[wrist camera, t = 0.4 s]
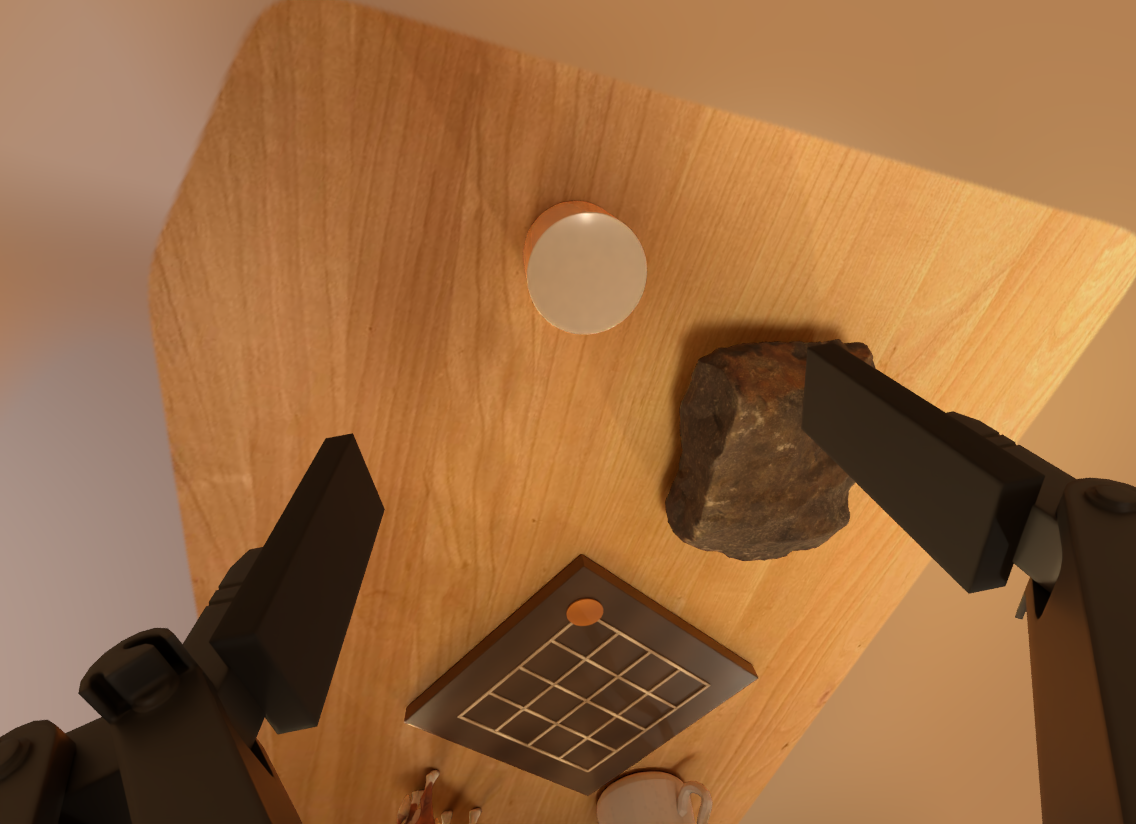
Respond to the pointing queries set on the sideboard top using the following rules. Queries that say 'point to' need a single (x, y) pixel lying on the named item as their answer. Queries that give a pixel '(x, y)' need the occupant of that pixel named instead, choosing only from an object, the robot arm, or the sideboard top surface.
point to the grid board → (581, 682)
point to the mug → (652, 800)
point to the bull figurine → (427, 806)
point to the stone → (755, 456)
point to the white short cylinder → (583, 267)
